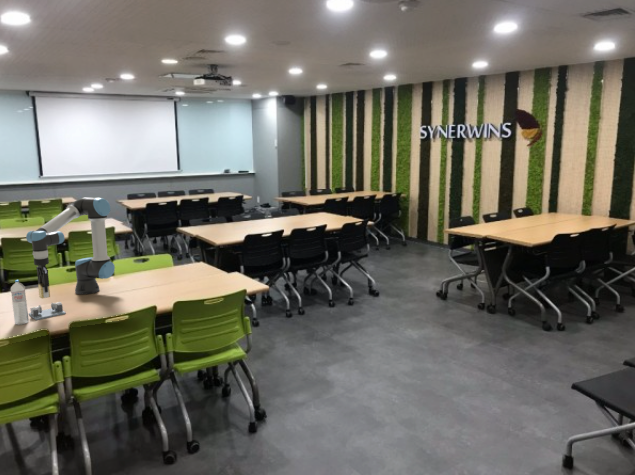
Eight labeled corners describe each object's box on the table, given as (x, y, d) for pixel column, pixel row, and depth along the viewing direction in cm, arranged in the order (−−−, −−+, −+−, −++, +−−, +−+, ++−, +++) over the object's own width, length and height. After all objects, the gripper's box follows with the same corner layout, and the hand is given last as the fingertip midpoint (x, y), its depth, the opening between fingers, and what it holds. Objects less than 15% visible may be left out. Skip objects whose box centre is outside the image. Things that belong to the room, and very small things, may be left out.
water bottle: (31, 320, 287) (26, 278, 283) (24, 325, 281) (19, 281, 276) (19, 321, 287) (14, 278, 283) (12, 325, 280) (7, 282, 276)
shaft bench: (28, 314, 298) (27, 304, 297) (57, 308, 309) (56, 298, 308) (36, 320, 288) (34, 309, 287) (65, 313, 299) (64, 303, 298)
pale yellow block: (47, 295, 299) (46, 282, 298) (50, 297, 296) (48, 283, 295) (39, 297, 296) (38, 283, 295) (41, 298, 293) (40, 285, 292)
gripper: (29, 256, 296) (33, 294, 300) (38, 261, 283) (42, 300, 287) (43, 254, 301) (47, 292, 305) (52, 259, 289) (56, 298, 293)
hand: (45, 296), depth 296 cm, fingers closed on pale yellow block, 4 cm apart
